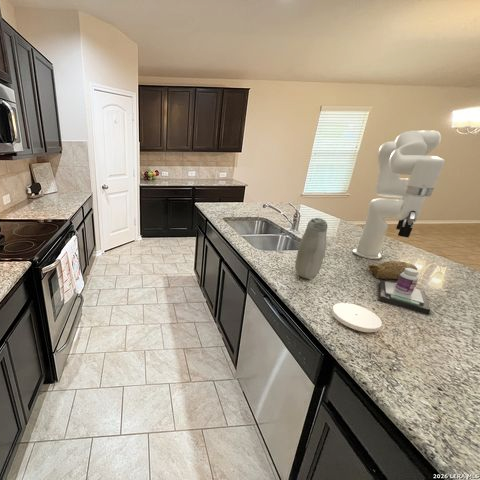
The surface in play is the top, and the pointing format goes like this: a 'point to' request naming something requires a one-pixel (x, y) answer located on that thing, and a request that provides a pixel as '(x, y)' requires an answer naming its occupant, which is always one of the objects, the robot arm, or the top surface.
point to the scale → (403, 298)
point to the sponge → (390, 269)
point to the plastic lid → (356, 317)
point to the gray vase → (312, 249)
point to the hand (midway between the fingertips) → (402, 233)
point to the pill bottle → (407, 281)
